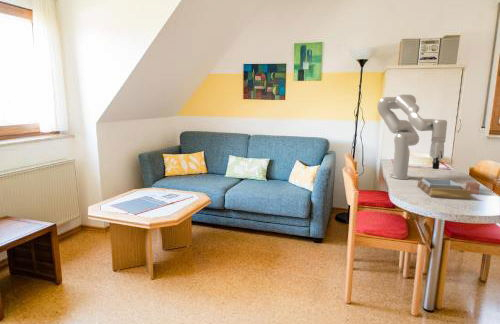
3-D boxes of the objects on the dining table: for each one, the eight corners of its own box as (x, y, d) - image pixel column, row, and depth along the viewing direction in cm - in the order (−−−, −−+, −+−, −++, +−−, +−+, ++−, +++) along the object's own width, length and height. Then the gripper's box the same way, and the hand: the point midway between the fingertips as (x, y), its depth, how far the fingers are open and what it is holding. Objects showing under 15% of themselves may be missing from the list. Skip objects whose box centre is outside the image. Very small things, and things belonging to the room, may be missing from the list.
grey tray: (421, 185, 202) (422, 178, 201) (450, 186, 199) (451, 180, 198) (429, 191, 189) (430, 184, 188) (460, 192, 186) (461, 185, 185)
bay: (417, 186, 204) (418, 178, 203) (451, 188, 201) (452, 180, 200) (430, 197, 182) (431, 188, 181) (469, 199, 179) (471, 190, 178)
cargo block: (465, 191, 194) (466, 181, 193) (474, 191, 193) (475, 182, 192) (469, 193, 189) (470, 183, 188) (478, 194, 189) (479, 184, 187)
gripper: (427, 138, 208) (424, 166, 211) (436, 141, 193) (433, 171, 196) (440, 138, 207) (437, 166, 210) (450, 141, 192) (447, 171, 195)
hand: (435, 168), depth 203 cm, fingers closed
